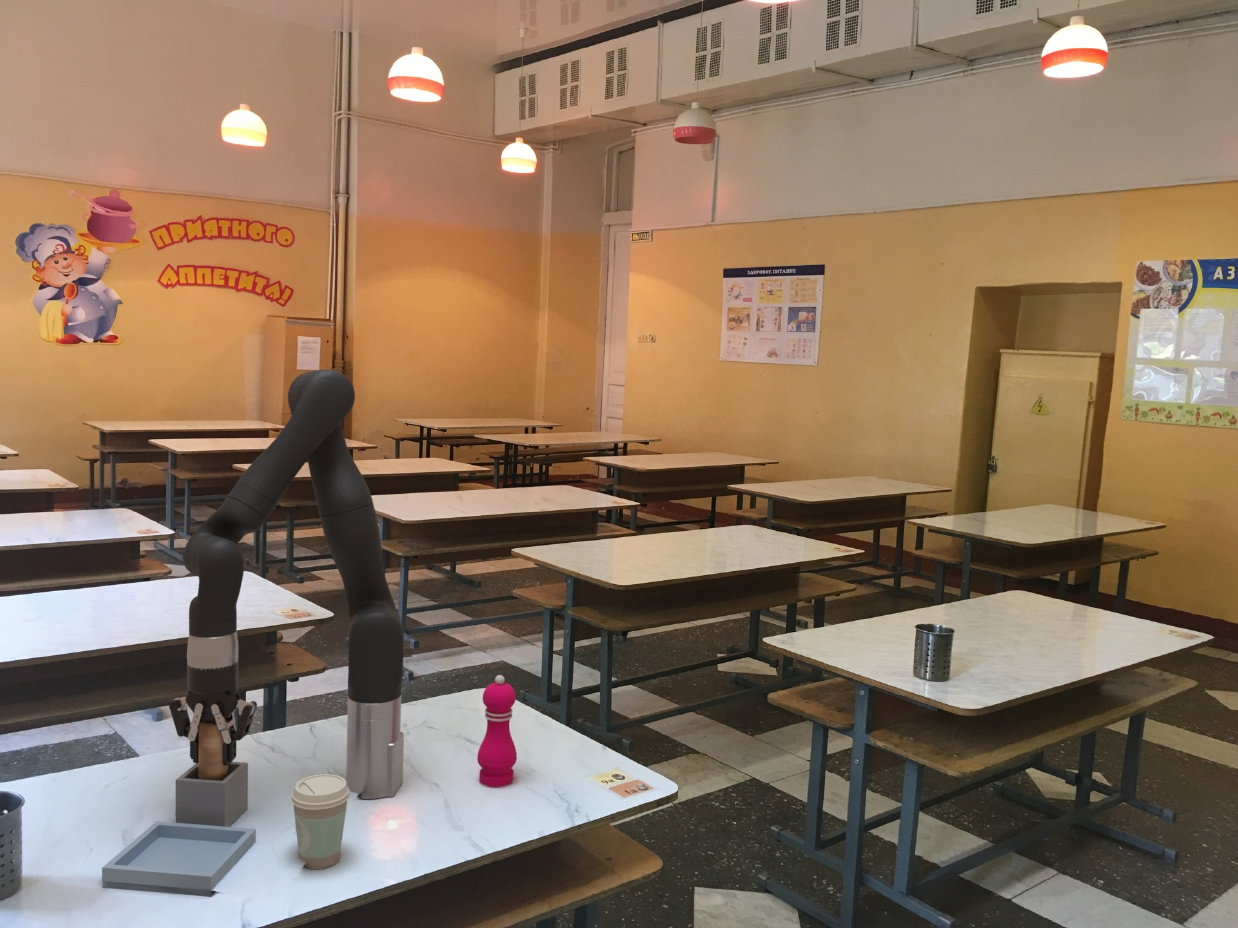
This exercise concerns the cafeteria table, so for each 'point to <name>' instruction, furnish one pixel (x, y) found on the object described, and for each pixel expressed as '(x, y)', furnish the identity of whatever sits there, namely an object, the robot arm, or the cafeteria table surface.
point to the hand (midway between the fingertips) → (213, 761)
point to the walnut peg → (211, 752)
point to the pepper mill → (497, 736)
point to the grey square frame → (212, 797)
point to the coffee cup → (320, 818)
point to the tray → (178, 858)
